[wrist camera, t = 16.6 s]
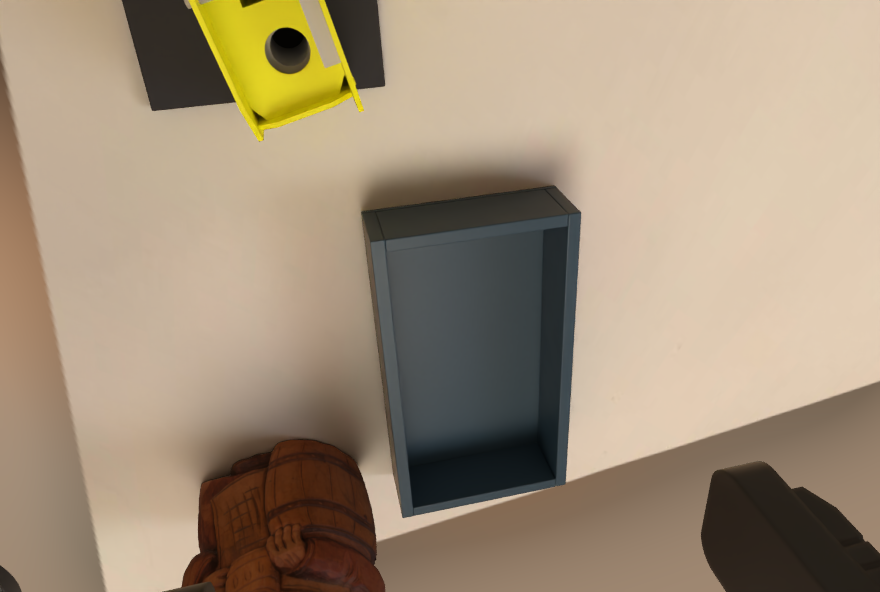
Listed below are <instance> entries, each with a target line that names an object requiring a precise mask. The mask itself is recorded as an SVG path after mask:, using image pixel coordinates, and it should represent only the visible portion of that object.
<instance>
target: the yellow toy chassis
mask: <svg viewBox="0 0 880 592" xmlns="http://www.w3.org/2000/svg"><path fill="white" fill-rule="evenodd" d="M184 2H185V4H186V6H187V8H188V9H191V8H192V9H193V11H194V13H195V16H196V18H197V20H198V22H199V24H200V26H201V28H202V31H203V33H204V35H205V37H206V39H207V41H208V43H209V46H210V48H211V50H212V52H213V54H214V56H215V58H216V60H217V63H218V65H219V67H220V69H221V71H222V73H223V75H224V78H225V80H226V82H227V84H228V86H229V88H230V90H231V93H232V95H233V97H234V99H235V101H236V103H237V105H238V107H239V110H240V111H241V113H242V115H243V116H244V118H245V120H246V121H247V123H248V124H249V126H250V128H251V129H252V131H253V132H254V134H255V136H256V137H257V139H258V141H259V142H260V141H262V140H264V130H265V129H271V128H276V127H280V126H283V125H286V124H288V123H291V122H294V121H297V120H299V119H302V118H305V117H307V116H310V115H313V114H316V113H318V112H321V111H324V110H327V109H329V108H332V107H334V106H336V105H338V104H340V103H342V102H343V101H345V100H347V99H349V98H350V97H352V96H353V98H354V101H355V103H356V105H357V108H358V110H359V112H361V111H364V109H363V106H362V104H361V101H360V98H359V95H358V92H357V89H356V86H355V85H356V82H355V80H354V77H353V76H352V74H351V72H350V69H349V66H348V63H347V61H346V58H345V55H344V52H343V50H342V47H341V44H340V41H339V39H338V36H337V33H336V30H335V28H334V25H333V22H332V19H331V17H330V14H329V11H328V8H327V6H326V3H325V0H184ZM285 27H288V28H293V29H295V30H298V31H299V32H301V33H302V34H303V35H304V38H303V40H302V42H301V43H300V44H299V45H298V46H296V47H294V48H283V47H281V46H279V45H278V44H276V43H275V41H274V40H273V39H272V35H273V34H274V32H275V31H277V30H278V29H280V28H285Z"/></svg>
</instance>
